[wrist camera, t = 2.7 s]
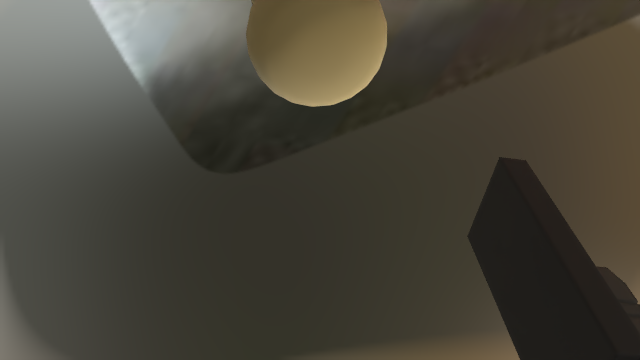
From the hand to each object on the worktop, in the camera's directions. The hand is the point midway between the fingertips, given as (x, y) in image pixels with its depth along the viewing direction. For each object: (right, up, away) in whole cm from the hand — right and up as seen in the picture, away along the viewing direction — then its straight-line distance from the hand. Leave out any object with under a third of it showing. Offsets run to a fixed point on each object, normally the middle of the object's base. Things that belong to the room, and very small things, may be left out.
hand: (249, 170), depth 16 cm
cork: (+1, +10, +15) cm, 18 cm away
